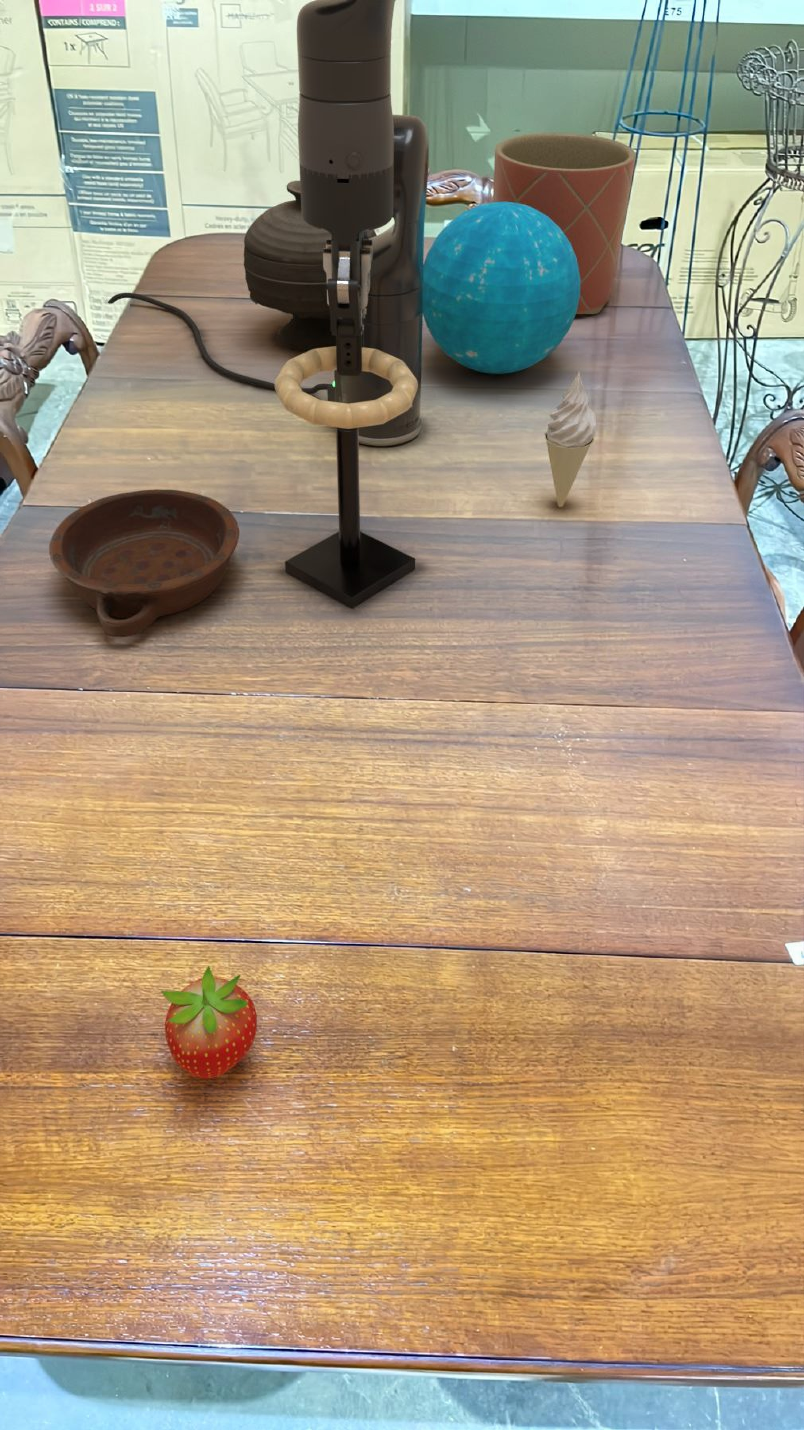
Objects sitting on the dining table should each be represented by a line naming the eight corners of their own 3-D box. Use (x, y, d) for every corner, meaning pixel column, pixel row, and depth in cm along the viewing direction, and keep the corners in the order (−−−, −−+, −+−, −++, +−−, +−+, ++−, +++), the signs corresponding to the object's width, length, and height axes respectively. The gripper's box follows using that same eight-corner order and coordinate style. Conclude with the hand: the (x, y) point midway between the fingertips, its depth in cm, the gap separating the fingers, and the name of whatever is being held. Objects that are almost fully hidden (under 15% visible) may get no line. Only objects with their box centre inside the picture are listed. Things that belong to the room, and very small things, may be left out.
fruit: (197, 1017, 68) (181, 939, 62) (274, 1038, 67) (264, 961, 61) (158, 1092, 64) (138, 1016, 59) (239, 1117, 63) (226, 1041, 58)
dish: (254, 519, 112) (250, 476, 109) (229, 650, 96) (223, 604, 92) (86, 518, 112) (77, 474, 109) (32, 648, 96) (19, 602, 92)
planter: (623, 324, 153) (646, 171, 139) (488, 321, 153) (498, 169, 140) (606, 275, 167) (625, 133, 154) (483, 274, 167) (491, 131, 154)
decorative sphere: (593, 392, 136) (616, 226, 123) (441, 408, 132) (447, 238, 119) (540, 331, 150) (555, 176, 137) (401, 343, 147) (403, 185, 133)
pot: (410, 323, 150) (401, 170, 136) (337, 379, 140) (319, 221, 126) (306, 299, 158) (288, 152, 143) (230, 351, 147) (202, 199, 133)
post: (285, 571, 105) (274, 427, 95) (349, 535, 110) (345, 394, 100) (352, 608, 101) (348, 461, 91) (415, 568, 106) (418, 425, 96)
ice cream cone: (582, 520, 113) (602, 384, 103) (534, 515, 114) (548, 379, 104) (586, 497, 116) (605, 362, 107) (539, 491, 117) (554, 358, 107)
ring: (248, 396, 93) (246, 374, 92) (343, 350, 100) (343, 329, 98) (349, 448, 88) (349, 426, 86) (443, 395, 94) (445, 374, 93)
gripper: (308, 133, 91) (316, 335, 102) (289, 181, 80) (300, 400, 92) (397, 135, 91) (395, 338, 102) (389, 183, 80) (388, 402, 92)
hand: (350, 366), depth 97 cm, fingers closed on ring, 2 cm apart
